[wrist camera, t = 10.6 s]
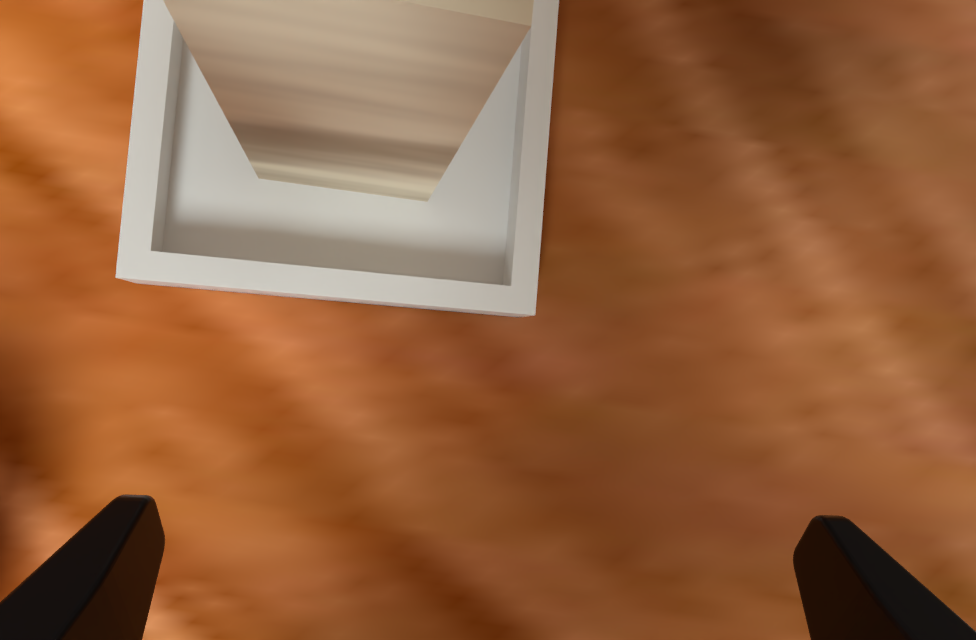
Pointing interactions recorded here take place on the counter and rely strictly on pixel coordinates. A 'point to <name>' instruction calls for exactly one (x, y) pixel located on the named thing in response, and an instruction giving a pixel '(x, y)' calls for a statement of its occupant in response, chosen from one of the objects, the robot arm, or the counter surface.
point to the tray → (335, 198)
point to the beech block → (352, 83)
